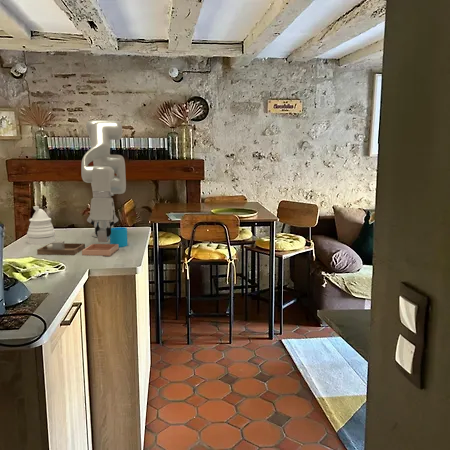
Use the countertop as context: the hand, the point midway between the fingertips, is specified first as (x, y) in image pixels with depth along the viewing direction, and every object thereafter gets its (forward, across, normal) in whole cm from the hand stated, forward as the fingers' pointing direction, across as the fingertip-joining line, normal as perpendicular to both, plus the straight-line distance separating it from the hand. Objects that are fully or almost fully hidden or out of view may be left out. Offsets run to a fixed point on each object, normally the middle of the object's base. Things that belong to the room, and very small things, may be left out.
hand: (103, 235), depth 202 cm
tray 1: (+7, +18, +2) cm, 20 cm away
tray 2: (+7, +1, +2) cm, 8 cm away
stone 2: (+2, 0, -1) cm, 2 cm away
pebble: (+7, +23, +2) cm, 24 cm away
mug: (+7, -3, -16) cm, 18 cm away
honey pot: (+7, +36, -18) cm, 41 cm away
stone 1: (+7, +18, +6) cm, 20 cm away
